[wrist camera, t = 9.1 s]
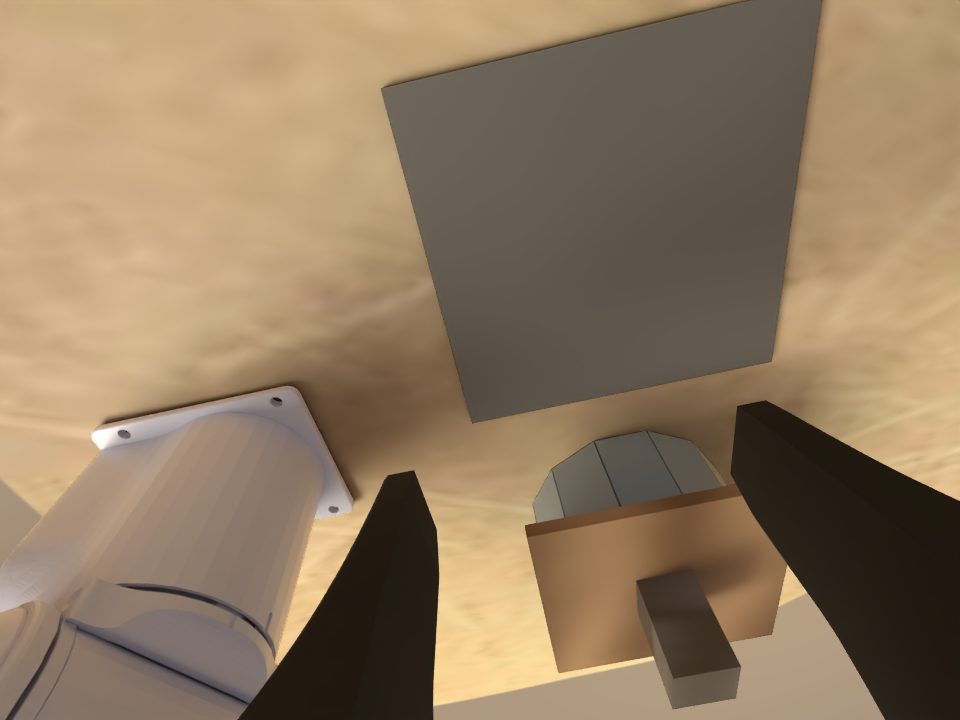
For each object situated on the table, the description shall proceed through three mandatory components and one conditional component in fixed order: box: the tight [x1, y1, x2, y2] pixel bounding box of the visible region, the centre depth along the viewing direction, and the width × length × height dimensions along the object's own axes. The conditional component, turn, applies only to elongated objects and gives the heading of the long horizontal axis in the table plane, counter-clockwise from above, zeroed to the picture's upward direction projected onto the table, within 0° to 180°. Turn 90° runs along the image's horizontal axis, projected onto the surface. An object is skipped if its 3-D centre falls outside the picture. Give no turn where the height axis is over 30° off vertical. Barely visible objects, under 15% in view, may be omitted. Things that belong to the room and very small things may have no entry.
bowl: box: [533, 431, 727, 523], centre depth 25 cm, size 10×10×5 cm
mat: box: [381, 0, 822, 423], centre depth 19 cm, size 14×14×1 cm
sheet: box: [525, 484, 787, 709], centre depth 20 cm, size 11×11×5 cm
